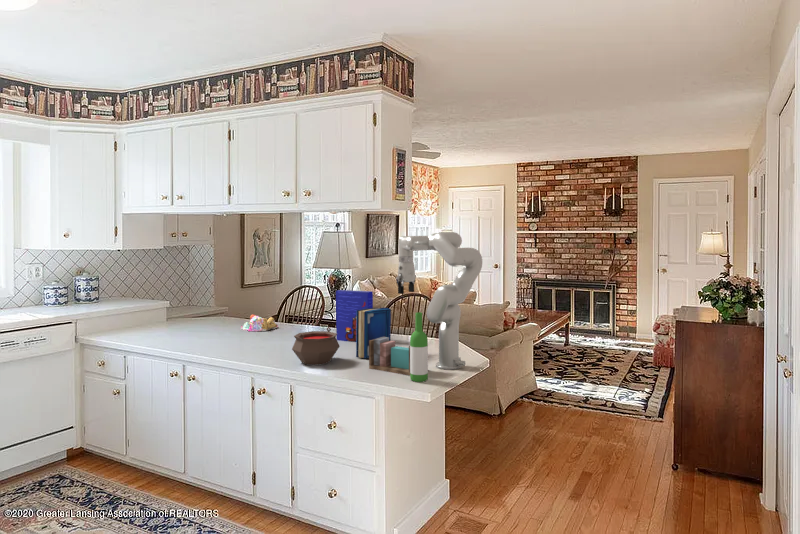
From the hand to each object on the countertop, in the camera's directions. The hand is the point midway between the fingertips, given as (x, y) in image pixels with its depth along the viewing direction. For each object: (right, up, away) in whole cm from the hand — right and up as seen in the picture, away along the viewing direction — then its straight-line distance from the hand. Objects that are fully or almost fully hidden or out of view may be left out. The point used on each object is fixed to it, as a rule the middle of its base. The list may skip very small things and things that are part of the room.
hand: (406, 292), depth 294 cm
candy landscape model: (-98, -29, +86) cm, 134 cm away
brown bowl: (-46, -35, -9) cm, 58 cm away
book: (-17, -33, +4) cm, 38 cm away
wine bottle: (+5, -37, -45) cm, 58 cm away
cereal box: (-30, -31, +43) cm, 61 cm away
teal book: (-2, -34, -28) cm, 44 cm away
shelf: (-5, -35, -26) cm, 44 cm away
